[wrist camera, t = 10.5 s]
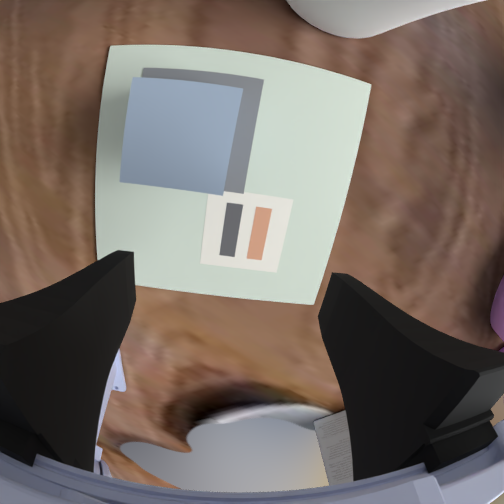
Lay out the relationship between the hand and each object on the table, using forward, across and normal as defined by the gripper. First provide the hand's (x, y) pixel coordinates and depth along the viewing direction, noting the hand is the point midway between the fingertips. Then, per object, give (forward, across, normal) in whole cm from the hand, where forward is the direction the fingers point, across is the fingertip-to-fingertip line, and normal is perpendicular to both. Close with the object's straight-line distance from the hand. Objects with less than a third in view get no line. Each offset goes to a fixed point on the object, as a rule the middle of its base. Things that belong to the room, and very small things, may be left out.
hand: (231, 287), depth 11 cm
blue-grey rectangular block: (+9, +3, -5) cm, 10 cm away
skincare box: (+9, -16, +24) cm, 30 cm away
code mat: (+9, +1, -2) cm, 9 cm away
